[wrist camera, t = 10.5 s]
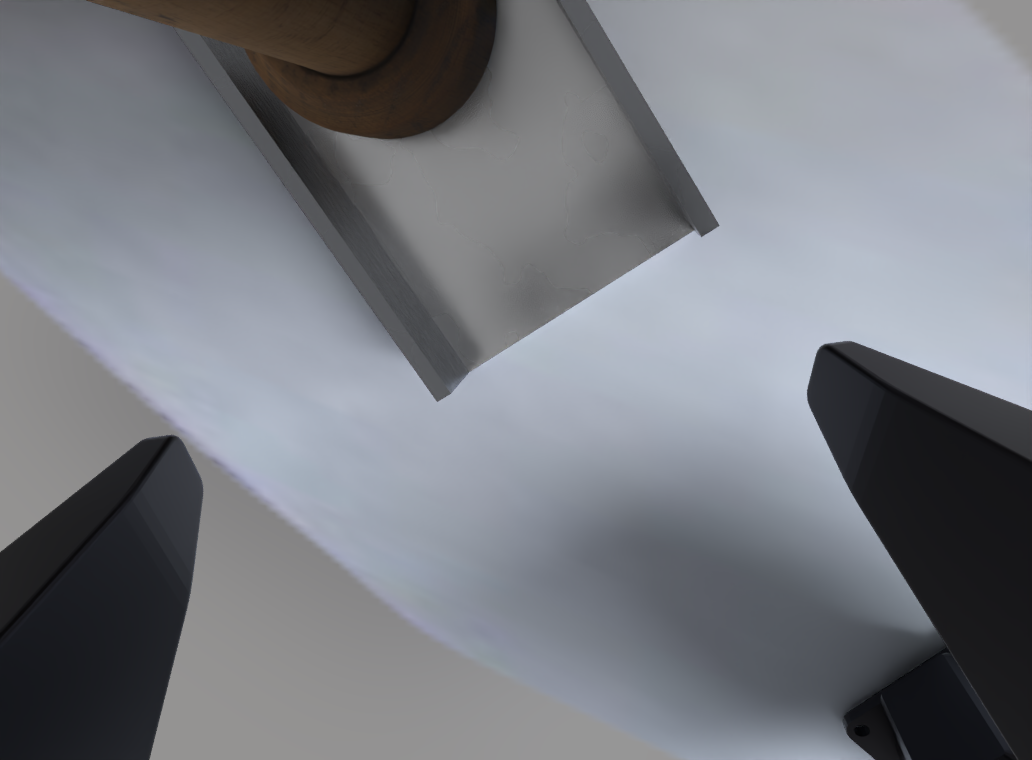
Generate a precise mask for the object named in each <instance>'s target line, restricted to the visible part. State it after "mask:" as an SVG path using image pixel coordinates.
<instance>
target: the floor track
mask: <svg viewBox="0 0 1032 760" xmlns="http://www.w3.org/2000/svg"><path fill="white" fill-rule="evenodd" d="M496 6H497V18H496V31H495V38H494V44H493V48H492V52H491V56H490V59H489V62H488V65H487V67H486V70H485V72H484V74H483V76H482V79H481V81H480V82H479V84H478V86H477V87H476V89H475V90H474V92H473V93H472V95H471V96H470V97H469V99H468V100H467V101H466V102H465V103H464V105H463V106H462V107H461V108H460V109H459V110H458V111H457V112H455V113H454V114H453V115H452V116H451V117H449V118H448V119H447V120H446V121H444V122H443V123H441V124H439V125H438V126H436V127H434V128H432V129H430V130H428V131H426V132H423V133H420V134H417V135H414V136H410V137H405V138H398V139H377V138H368V137H362V136H356V135H350V134H345V133H340V132H336V131H332V130H329V129H326V128H324V127H321V126H319V125H317V124H315V123H312V122H310V121H308V120H307V119H305V118H303V117H302V116H300V115H299V114H297V113H296V112H294V111H293V110H292V109H290V108H289V107H288V106H287V105H285V104H284V103H283V102H282V101H281V100H280V99H279V98H278V97H277V96H276V95H275V94H274V93H273V92H272V91H271V90H270V89H269V87H268V86H267V85H266V83H265V82H264V81H263V79H262V78H261V77H260V75H259V74H258V73H257V71H256V70H255V68H254V66H253V65H252V63H251V61H250V59H249V57H248V55H247V53H246V51H245V49H244V48H242V47H239V46H235V45H232V44H229V43H225V42H222V41H219V40H215V39H212V38H209V37H205V36H202V35H199V34H195V33H192V32H189V31H186V30H182V29H179V28H176V27H173V28H174V30H175V31H176V32H177V34H178V35H179V37H180V38H181V40H182V41H183V42H184V44H185V45H186V47H187V48H188V49H189V51H190V52H191V54H192V55H193V57H194V58H195V59H196V61H197V62H198V64H199V65H200V66H201V68H202V69H203V71H204V72H205V74H206V75H207V76H208V78H209V79H210V81H211V82H212V83H213V85H214V86H215V88H216V89H217V91H218V92H219V93H220V95H221V96H222V98H223V99H224V100H225V102H226V103H227V105H228V106H229V108H230V109H231V110H232V112H233V113H234V115H235V116H236V117H237V119H238V120H239V122H240V123H241V125H242V126H243V127H244V129H245V130H246V132H247V133H248V134H249V136H250V137H251V139H252V140H253V142H254V143H255V144H256V146H257V147H258V149H259V150H260V151H261V153H262V154H263V156H264V157H265V159H266V160H267V161H268V163H269V164H270V166H271V167H272V168H273V170H274V171H275V173H276V174H277V176H278V177H279V178H280V180H281V181H282V183H283V184H284V185H285V187H286V188H287V190H288V191H289V193H290V194H291V195H292V197H293V198H294V200H295V201H296V202H297V204H298V205H299V207H300V208H301V210H302V211H303V212H304V214H305V215H306V217H307V218H308V219H309V221H310V222H311V224H312V225H313V227H314V228H315V229H316V231H317V232H318V234H319V235H320V236H321V238H322V239H323V241H324V242H325V244H326V245H327V246H328V248H329V249H330V251H331V252H332V253H333V255H334V256H335V258H336V259H337V261H338V262H339V263H340V265H341V266H342V268H343V269H344V270H345V272H346V273H347V275H348V276H349V278H350V279H351V280H352V282H353V283H354V285H355V286H356V287H357V289H358V290H359V292H360V293H361V295H362V296H363V297H364V299H365V300H366V302H367V303H368V304H369V306H370V307H371V309H372V310H373V312H374V313H375V314H376V316H377V317H378V319H379V320H380V321H381V323H382V324H383V326H384V327H385V329H386V330H387V331H388V333H389V334H390V336H391V337H392V338H393V340H394V341H395V343H396V344H397V346H398V347H399V348H400V350H401V351H402V353H403V354H404V355H405V357H406V358H407V360H408V361H409V363H410V364H411V365H412V367H413V368H414V370H415V371H416V372H417V374H418V375H419V377H420V378H421V380H422V381H423V382H424V384H425V385H426V387H427V388H428V389H429V391H430V392H431V394H432V395H433V397H434V398H435V399H436V401H437V402H438V401H440V400H441V399H443V398H444V397H446V396H448V395H449V394H451V393H452V392H453V390H454V389H455V388H456V387H457V386H458V385H459V383H460V382H461V381H462V380H463V379H464V378H465V376H466V375H467V374H468V373H469V372H470V371H472V370H473V369H475V368H476V367H478V366H480V365H481V364H483V363H484V362H486V361H488V360H489V359H491V358H492V357H494V356H496V355H497V354H499V353H500V352H502V351H503V350H505V349H507V348H508V347H510V346H511V345H513V344H515V343H516V342H518V341H519V340H521V339H522V338H524V337H526V336H527V335H529V334H530V333H532V332H534V331H535V330H537V329H538V328H540V327H542V326H543V325H545V324H546V323H548V322H549V321H551V320H553V319H554V318H556V317H557V316H559V315H561V314H562V313H564V312H565V311H567V310H568V309H570V308H572V307H573V306H575V305H576V304H578V303H580V302H581V301H583V300H584V299H586V298H588V297H589V296H591V295H592V294H594V293H595V292H597V291H599V290H600V289H602V288H603V287H605V286H607V285H608V284H610V283H611V282H613V281H614V280H616V279H618V278H619V277H621V276H622V275H624V274H626V273H627V272H629V271H630V270H632V269H634V268H635V267H637V266H638V265H640V264H641V263H643V262H645V261H646V260H648V259H649V258H651V257H653V256H654V255H656V254H657V253H659V252H660V251H662V250H664V249H665V248H667V247H668V246H670V245H672V244H673V243H675V242H676V241H678V240H680V239H681V238H683V237H684V236H686V235H687V234H689V233H691V232H692V231H695V232H696V233H697V234H699V235H700V236H701V237H702V236H704V235H705V234H707V233H709V232H710V231H712V230H713V229H715V228H717V227H718V226H719V224H718V222H717V220H716V219H715V217H714V215H713V214H712V212H711V210H710V209H709V207H708V205H707V204H706V202H705V200H704V199H703V197H702V195H701V194H700V192H699V190H698V188H697V187H696V185H695V183H694V182H693V180H692V178H691V177H690V175H689V173H688V172H687V170H686V168H685V167H684V165H683V163H682V162H681V160H680V158H679V156H678V155H677V153H676V151H675V150H674V148H673V146H672V145H671V143H670V141H669V140H668V138H667V136H666V135H665V133H664V131H663V130H662V128H661V126H660V124H659V123H658V121H657V119H656V118H655V116H654V114H653V113H652V111H651V109H650V108H649V106H648V104H647V103H646V101H645V99H644V98H643V96H642V94H641V92H640V91H639V89H638V87H637V86H636V84H635V82H634V81H633V79H632V77H631V76H630V74H629V72H628V71H627V69H626V67H625V66H624V64H623V62H622V60H621V59H620V57H619V55H618V54H617V52H616V50H615V49H614V47H613V45H612V44H611V42H610V40H609V39H608V37H607V35H606V34H605V32H604V30H603V28H602V27H601V25H600V23H599V22H598V20H597V18H596V17H595V15H594V13H593V12H592V10H591V8H590V7H589V5H588V3H587V2H586V0H496Z"/></svg>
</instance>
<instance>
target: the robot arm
mask: <svg viewBox="0 0 1032 760" xmlns="http://www.w3.org/2000/svg"><path fill="white" fill-rule="evenodd" d="M807 399H808V403H809V406H810V409H811V411H812V413H813V415H814V417H815V419H816V421H817V423H818V426H819V428H820V430H821V432H822V434H823V436H824V438H825V440H826V442H827V444H828V446H829V449H830V451H831V453H832V455H833V457H834V459H835V461H836V463H837V465H838V467H839V469H840V472H841V474H842V476H843V478H844V480H845V482H846V484H847V485H848V487H849V489H850V491H851V493H852V495H853V496H854V498H855V500H856V501H857V503H858V505H859V507H860V508H861V510H862V511H863V513H864V515H865V516H866V518H867V519H868V521H869V523H870V524H871V526H872V527H873V529H874V531H875V532H876V534H877V535H878V537H879V539H880V540H881V542H882V543H883V545H884V547H885V548H886V550H887V551H888V553H889V555H890V556H891V558H892V559H893V561H894V563H895V564H896V566H897V567H898V569H899V571H900V572H901V574H902V575H903V577H904V579H905V580H906V582H907V583H908V585H909V587H910V588H911V590H912V591H913V593H914V595H915V596H916V598H917V599H918V601H919V603H920V604H921V606H922V607H923V609H924V611H925V612H926V614H927V615H928V617H929V619H930V620H931V622H932V623H933V625H934V627H935V628H936V630H937V632H938V633H939V635H940V636H941V638H942V640H943V641H944V643H945V644H946V646H947V648H946V649H944V650H943V651H941V652H940V653H938V654H936V655H935V656H933V657H932V658H930V659H929V660H927V661H926V662H924V663H923V664H921V665H920V666H918V667H917V668H915V669H914V670H912V671H911V672H909V673H908V674H906V675H904V676H903V677H901V678H900V679H898V680H897V681H895V682H894V683H892V684H891V685H889V686H888V687H886V688H885V689H883V690H882V691H880V692H879V693H877V694H876V695H874V696H873V697H871V698H869V699H868V700H866V701H865V702H863V703H862V704H860V705H859V706H857V707H856V708H854V709H853V710H851V711H850V712H848V713H847V714H846V715H845V716H844V718H843V724H844V727H845V730H846V733H847V735H848V736H849V737H850V738H851V739H852V740H853V741H854V742H855V743H856V744H858V745H859V746H860V747H861V748H862V749H864V750H865V751H866V752H867V753H868V754H869V755H871V756H872V757H873V758H874V759H875V760H1032V411H1031V410H1029V409H1026V408H1024V407H1021V406H1019V405H1016V404H1013V403H1011V402H1008V401H1006V400H1003V399H1000V398H998V397H995V396H993V395H990V394H987V393H985V392H982V391H980V390H977V389H974V388H972V387H969V386H967V385H964V384H961V383H959V382H956V381H954V380H951V379H949V378H946V377H943V376H941V375H938V374H936V373H933V372H930V371H928V370H925V369H923V368H920V367H917V366H915V365H912V364H910V363H907V362H904V361H902V360H899V359H897V358H894V357H891V356H889V355H886V354H884V353H881V352H878V351H876V350H873V349H871V348H868V347H866V346H863V345H860V344H858V343H855V342H852V341H843V342H836V343H829V344H824V345H823V346H821V347H820V348H819V349H818V351H817V354H816V357H815V361H814V365H813V369H812V373H811V377H810V381H809V385H808V389H807ZM202 499H203V484H202V480H201V477H200V475H199V473H198V471H197V469H196V467H195V465H194V463H193V461H192V459H191V457H190V455H189V453H188V451H187V449H186V447H185V445H184V443H183V442H182V440H181V439H180V438H179V437H177V436H175V435H166V436H159V437H152V438H146V439H144V440H142V441H140V442H139V443H138V444H136V445H135V446H134V447H133V448H131V449H130V450H129V451H127V452H126V453H125V454H124V455H122V456H121V457H120V458H119V459H117V460H116V461H115V462H114V463H112V464H111V465H110V466H109V467H107V468H106V469H105V470H103V471H102V472H101V473H100V474H98V475H97V476H96V477H95V478H93V479H92V480H91V481H90V482H89V483H87V484H86V485H85V486H83V487H82V488H81V489H79V490H78V491H77V492H76V493H74V494H73V495H72V496H71V497H69V498H68V499H67V500H66V501H65V502H63V503H62V504H61V505H59V506H58V507H57V508H55V509H54V510H53V511H52V512H50V513H49V514H48V515H47V516H45V517H44V518H43V519H42V520H40V521H39V522H38V523H36V524H35V525H34V526H33V527H32V528H30V529H29V530H28V531H26V532H25V533H24V534H23V535H21V536H20V537H19V538H18V539H16V540H15V541H14V542H13V543H11V544H10V545H9V546H7V547H6V548H5V549H4V550H2V551H1V552H0V760H149V759H150V755H151V751H152V747H153V743H154V739H155V735H156V731H157V727H158V722H159V719H160V715H161V711H162V707H163V703H164V699H165V695H166V691H167V687H168V682H169V679H170V674H171V671H172V667H173V663H174V659H175V655H176V651H177V647H178V643H179V639H180V635H181V631H182V627H183V623H184V619H185V615H186V611H187V606H188V602H189V598H190V593H191V586H192V580H193V572H194V564H195V556H196V548H197V540H198V532H199V523H200V516H201V508H202ZM858 725H864V726H863V727H856V726H858Z"/></svg>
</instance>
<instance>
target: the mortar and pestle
mask: <svg viewBox="0 0 1032 760" xmlns="http://www.w3.org/2000/svg"><path fill="white" fill-rule="evenodd" d="M86 1H90V2H93V3H96V4H100V5H103V6H107V7H110V8H113V9H117V10H120V11H123V12H127V13H130V14H133V15H136V16H140V17H143V18H146V19H150V20H153V21H156V22H159V23H163V24H166V25H169V26H172V27H176V28H179V29H182V30H186V31H189V32H192V33H195V34H199V35H202V36H205V37H209V38H212V39H215V40H219V41H222V42H225V43H229V44H232V45H235V46H239V47H242V48H244V49H245V51H246V53H247V55H248V57H249V59H250V61H251V63H252V65H253V66H254V68H255V70H256V71H257V73H258V74H259V75H260V77H261V78H262V79H263V81H264V82H265V83H266V85H267V86H268V87H269V89H270V90H271V91H272V92H273V93H274V94H275V95H276V96H277V97H278V98H279V99H280V100H281V101H282V102H283V103H284V104H285V105H287V106H288V107H289V108H290V109H292V110H293V111H294V112H296V113H297V114H299V115H300V116H302V117H303V118H305V119H307V120H308V121H310V122H312V123H315V124H317V125H319V126H321V127H324V128H326V129H329V130H332V131H336V132H340V133H345V134H350V135H356V136H362V137H368V138H377V139H398V138H405V137H410V136H414V135H417V134H420V133H423V132H426V131H428V130H430V129H432V128H434V127H436V126H438V125H439V124H441V123H443V122H444V121H446V120H447V119H448V118H449V117H451V116H452V115H453V114H454V113H455V112H457V111H458V110H459V109H460V108H461V107H462V106H463V105H464V103H465V102H466V101H467V100H468V99H469V97H470V96H471V95H472V93H473V92H474V90H475V89H476V87H477V86H478V84H479V82H480V81H481V79H482V76H483V74H484V72H485V70H486V67H487V65H488V62H489V59H490V56H491V52H492V48H493V44H494V38H495V31H496V18H497V6H496V0H86Z"/></svg>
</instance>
